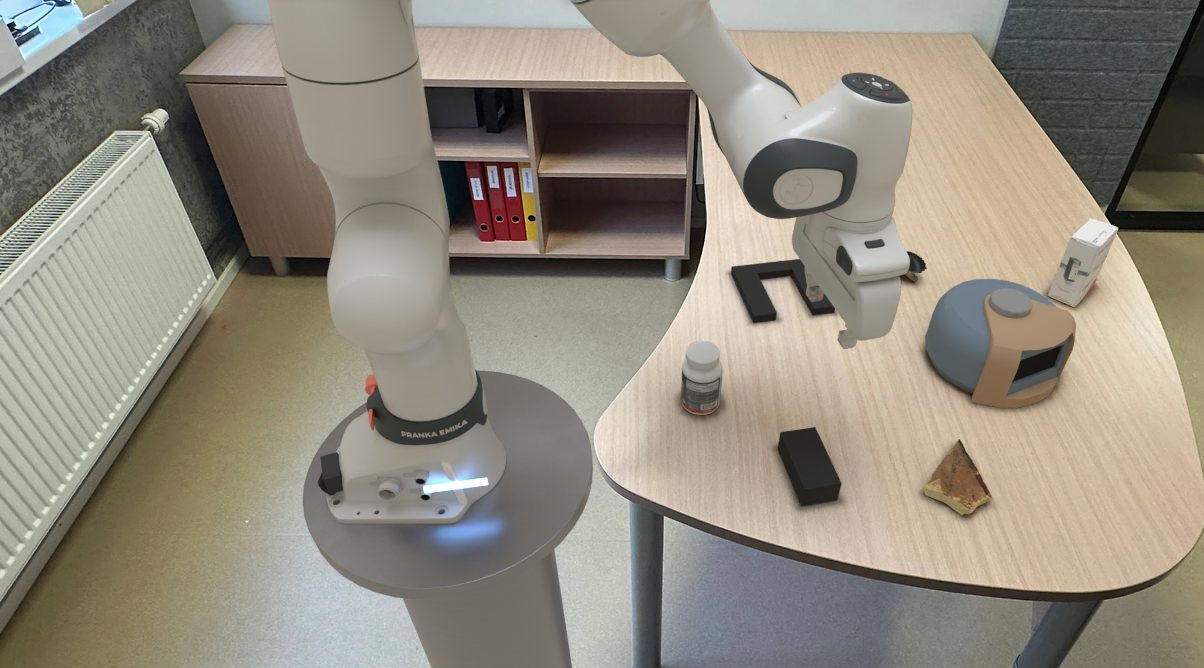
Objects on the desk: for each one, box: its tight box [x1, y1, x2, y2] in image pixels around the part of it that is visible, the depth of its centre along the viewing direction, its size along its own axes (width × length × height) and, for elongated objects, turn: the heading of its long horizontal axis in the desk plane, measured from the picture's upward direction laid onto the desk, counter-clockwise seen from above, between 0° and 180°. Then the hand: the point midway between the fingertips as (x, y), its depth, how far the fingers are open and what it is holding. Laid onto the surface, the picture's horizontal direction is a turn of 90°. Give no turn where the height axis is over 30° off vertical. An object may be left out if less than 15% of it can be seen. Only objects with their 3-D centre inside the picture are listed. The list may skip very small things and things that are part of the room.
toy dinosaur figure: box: [902, 250, 928, 282], centre depth 135 cm, size 8×7×9 cm
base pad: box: [730, 258, 836, 324], centre depth 133 cm, size 14×14×2 cm
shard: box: [924, 438, 993, 516], centre depth 103 cm, size 11×8×2 cm
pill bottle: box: [680, 340, 724, 416], centre depth 111 cm, size 6×6×10 cm
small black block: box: [777, 426, 843, 507], centre depth 103 cm, size 5×10×4 cm, turn 12°
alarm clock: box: [924, 278, 1077, 409], centre depth 117 cm, size 19×20×12 cm
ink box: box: [1047, 218, 1119, 308], centre depth 131 cm, size 9×5×12 cm, turn 137°
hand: (829, 320), depth 97 cm, fingers open, 8 cm apart
